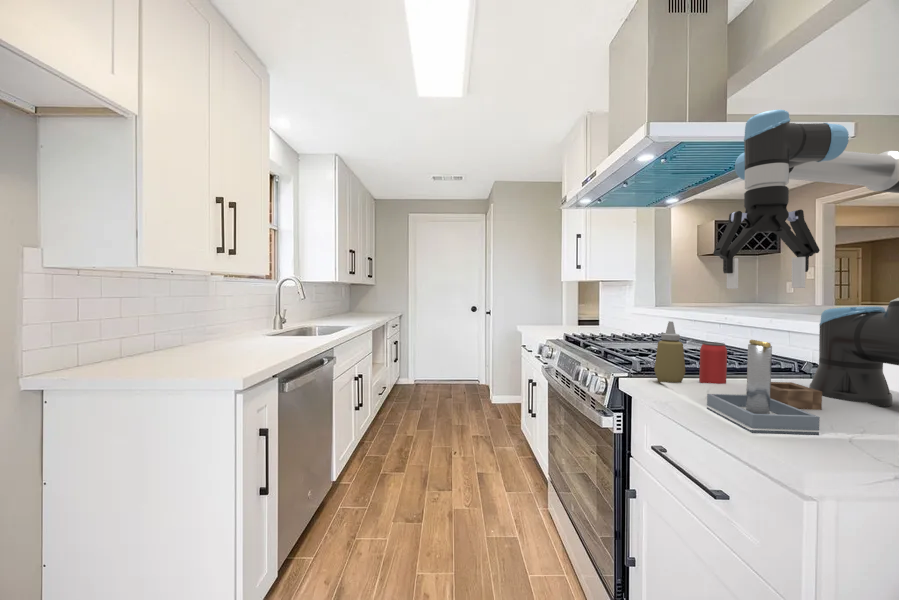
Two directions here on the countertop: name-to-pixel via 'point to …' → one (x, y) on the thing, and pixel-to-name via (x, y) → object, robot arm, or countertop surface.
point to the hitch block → (796, 395)
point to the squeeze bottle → (670, 357)
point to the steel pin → (758, 377)
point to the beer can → (713, 363)
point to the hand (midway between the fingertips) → (765, 288)
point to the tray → (764, 415)
